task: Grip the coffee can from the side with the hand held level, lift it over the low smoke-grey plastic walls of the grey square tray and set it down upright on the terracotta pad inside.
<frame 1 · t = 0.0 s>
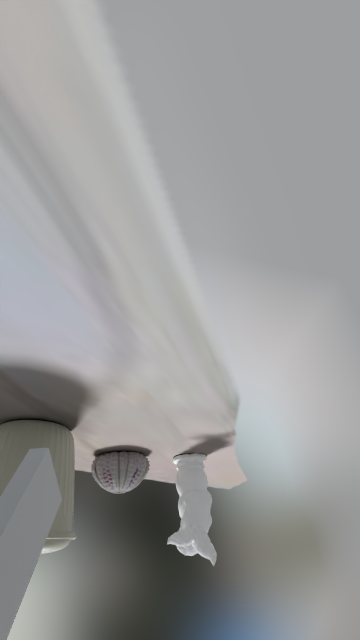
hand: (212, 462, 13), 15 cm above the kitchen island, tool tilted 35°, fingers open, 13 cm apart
cherub figurine: (184, 455, 80), on the kitchen island
sea urchin shell: (121, 454, 76), on the kitchen island
canister: (35, 426, 56), on the kitchen island
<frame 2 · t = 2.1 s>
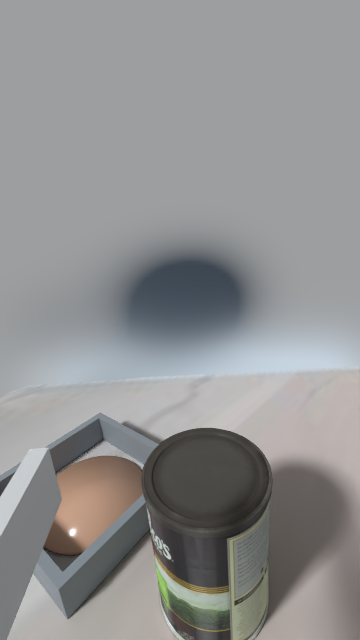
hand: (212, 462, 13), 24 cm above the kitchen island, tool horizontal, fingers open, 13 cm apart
coffee can: (213, 587, 30), on the kitchen island
grey square tray: (91, 498, 41), on the kitchen island
resting pad: (91, 498, 41), resting in grey square tray
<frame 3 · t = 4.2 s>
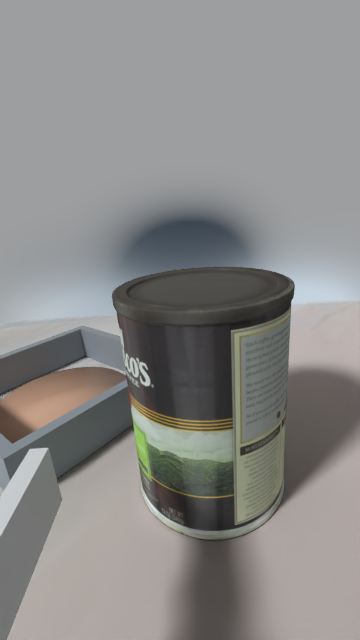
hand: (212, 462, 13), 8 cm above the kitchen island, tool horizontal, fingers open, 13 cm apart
coffee can: (211, 475, 23), on the kitchen island
grey square tray: (65, 401, 34), on the kitchen island
resting pad: (65, 401, 34), resting in grey square tray
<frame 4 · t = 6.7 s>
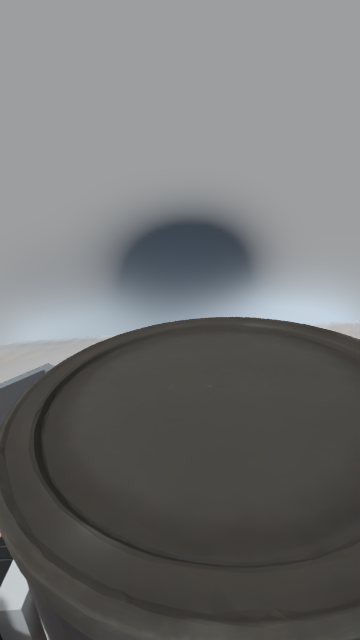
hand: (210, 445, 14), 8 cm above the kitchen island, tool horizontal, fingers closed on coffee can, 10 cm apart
grey square tray: (8, 491, 23), on the kitchen island
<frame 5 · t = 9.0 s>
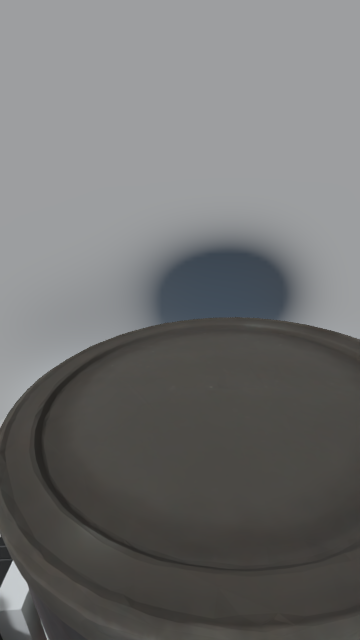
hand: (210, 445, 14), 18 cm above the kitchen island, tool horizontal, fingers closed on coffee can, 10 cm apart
when the fingers open (10 cm above the kitchen island, at t = 11.6 s): coffee can drops 1 cm, resting on resting pad.
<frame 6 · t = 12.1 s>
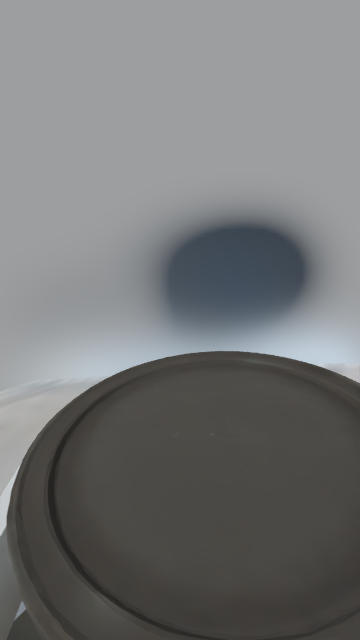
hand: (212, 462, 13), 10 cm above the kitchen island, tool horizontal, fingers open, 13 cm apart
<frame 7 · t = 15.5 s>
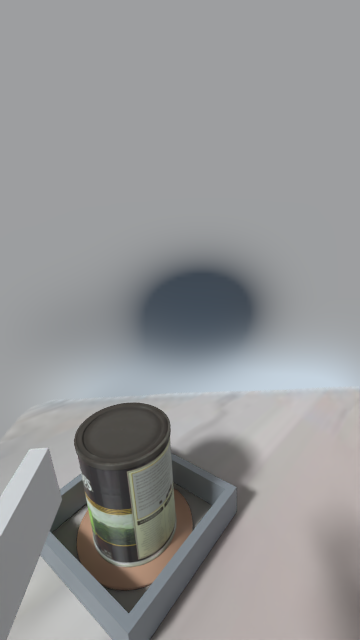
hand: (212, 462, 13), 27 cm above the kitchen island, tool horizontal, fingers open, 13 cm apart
coffee can: (136, 525, 39), resting on resting pad
grey square tray: (136, 526, 39), on the kitchen island
resting pad: (136, 526, 39), resting in grey square tray
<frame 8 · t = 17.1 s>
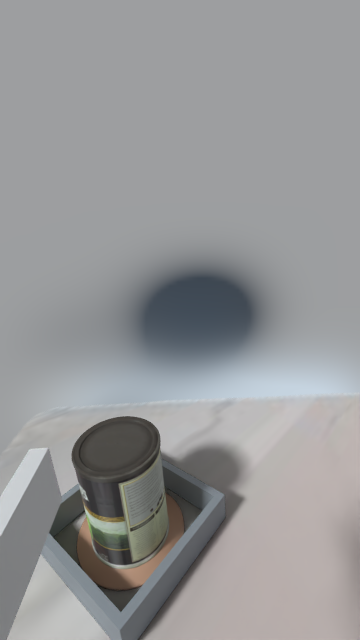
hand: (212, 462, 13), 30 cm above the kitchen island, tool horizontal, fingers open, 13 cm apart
coffee can: (131, 530, 42), resting on resting pad
grey square tray: (131, 531, 42), on the kitchen island
resting pad: (131, 531, 42), resting in grey square tray
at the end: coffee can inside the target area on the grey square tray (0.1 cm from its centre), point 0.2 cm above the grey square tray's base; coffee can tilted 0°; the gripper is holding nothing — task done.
